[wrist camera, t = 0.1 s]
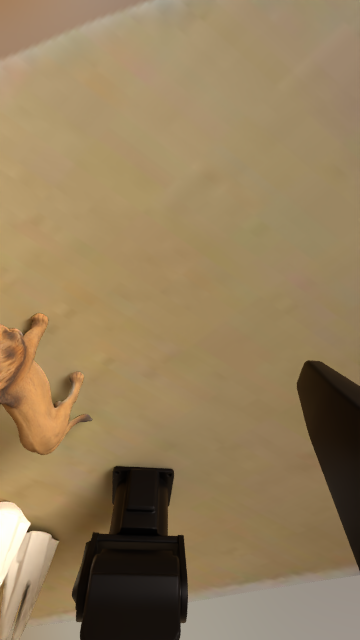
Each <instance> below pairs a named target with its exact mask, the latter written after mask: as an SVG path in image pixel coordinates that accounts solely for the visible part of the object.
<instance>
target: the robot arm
mask: <svg viewBox="0 0 360 640" xmlns="http://www.w3.org/2000/svg"><path fill="white" fill-rule="evenodd" d="M297 391H298V395H299V398H300V402H301V406H302V410H303V414H304V418H305V422H306V426H307V430H308V433H309V436H310V439H311V442H312V445H313V447H314V450H315V453H316V455H317V458H318V461H319V463H320V466H321V469H322V471H323V474H324V477H325V479H326V482H327V485H328V487H329V490H330V493H331V495H332V498H333V501H334V503H335V506H336V509H337V511H338V514H339V517H340V519H341V522H342V525H343V527H344V530H345V533H346V535H347V538H348V541H349V543H350V546H351V549H352V551H353V554H354V557H355V559H356V562H357V565H358V567H359V570H360V386H359V385H357V384H356V383H354V382H352V381H351V380H349V379H348V378H346V377H344V376H343V375H341V374H340V373H338V372H337V371H335V370H333V369H332V368H330V367H329V366H327V365H325V364H324V363H322V362H320V361H310V360H308V361H306V362H305V363H304V365H303V368H302V371H301V373H300V376H299V379H298V382H297ZM173 478H174V471H173V470H172V469H164V468H143V467H122V466H116V467H114V469H113V495H112V503H113V505H114V506H113V513H112V519H111V526H110V532H109V534H99V533H95V532H93V534H92V538H91V541H89V542H87V543H86V546H85V551H84V555H83V560H82V564H81V567H80V570H79V572H78V575H77V578H76V581H75V584H74V587H73V591H72V598H73V599H74V601H75V603H76V610H77V611H76V621H77V622H82V624H81V630H80V640H179V638H180V632H181V630H180V623H185V622H186V617H187V603H188V583H187V569H186V558H185V547H184V536H183V535H178V536H168V506H169V503H170V497H171V490H172V484H173Z"/></svg>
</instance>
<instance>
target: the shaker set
mask: <svg viewBox="0 0 360 640" xmlns="http://www.w3.org/2000/svg"><path fill="white" fill-rule="evenodd" d="M30 525H31V523H30V522H29V521H28V520H27V519H26V518H25V516H24V515H23V512H22V511H21V509H20V508H18V507H17V506H16V505H15V504H14V503H12V502H0V587H1V585H2V583H3V581H4V589H3V599H2V608H1V618H0V640H7V638H8V636H9V633H10V631H11V628H12V625H13V622H14V620H15V616H16V613H17V610H18V607H19V604H20V602H21V605H20V609H19V612H18V616H17V620H16V624H15V628H14V632H13V636H12V640H19V639H20V637H21V635H22V633H23V631H24V629H25V626H26V624H27V621H28V619H29V617H30V614H31V612H32V610H33V607H34V605H35V602H36V600H37V597H38V595H39V592H40V590H41V587H42V585H43V582H44V580H45V577H46V575H47V572H48V569H49V567H50V564H51V561H52V559H53V556H54V553H55V551H56V548H57V545H58V542H59V541H56V540H55V539H52V538H51V537H52V535H51V534H48V533H46V532H42V531H30V532H29V533H28V532H27V530H28V528H29V526H30ZM26 532H27V533H26ZM21 599H22V601H21Z"/></svg>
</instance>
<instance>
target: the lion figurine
mask: <svg viewBox="0 0 360 640" xmlns="http://www.w3.org/2000/svg"><path fill="white" fill-rule="evenodd" d="M31 320H32V324H31V330H29V331H28V332H27V333H25V335H23V334H22V332H21V331H20V330H18V329H16V328H14V329H8V328H7V327H5V326H4V325H0V404H2V405H3V407H4V408H5V410H6V411H7V412H8V413H9V414H10V416H11V417H12V418H13V420H14V422H15V423H16V425H17V428H18V432H19V438H20V442H21V444H22V445H23V447H24V448H26V449H27V450H29V451H31V452H36V453H38V454H40V455H46V454H49V453H51V452H53V451H54V450H55V449H56V447H57V446H58V445H59V444H60V442H61V441H62V439H63V438H64V436H65V435H66V434H67V432H68V431H69V430H70V429H71V427H72V426H74V425H75V424H77V423H79V422H87V421H92V418H91V417H90V416H89V415H88V414H83V415H79V416H77V417H76V418H74V419H73V420H71V421H70V422H69V416H70V411H71V408H72V405H73V403H74V402H75V401H76V400H77V397H78V393H79V390H80V387H81V385H82V383H83V379H84V376H83V374H82V373H80V372H73V373H71V375H70V381H71V391H70V393H69V395H68V397H67V398H66V399H65V400H64V401H57V402H56V403H55V404H54V407H53V404H52V400H51V391H50V385H49V382H48V380H47V377H46V375H45V373H44V372H43V370H42V369H41V368H40V367H39V366H38V364H37V363H36V362H35V361H34V357H35V353H36V349H37V346H38V344H39V341H40V339H41V337H42V335H43V333H44V331H45V329H46V327H47V324H48V318H47V316H45V315H44V314H41V313H37V314H35V315H33V316H32V317H31ZM68 422H69V423H68Z"/></svg>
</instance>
